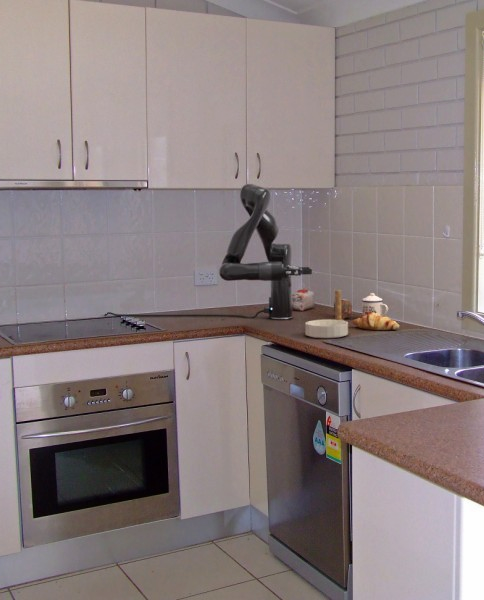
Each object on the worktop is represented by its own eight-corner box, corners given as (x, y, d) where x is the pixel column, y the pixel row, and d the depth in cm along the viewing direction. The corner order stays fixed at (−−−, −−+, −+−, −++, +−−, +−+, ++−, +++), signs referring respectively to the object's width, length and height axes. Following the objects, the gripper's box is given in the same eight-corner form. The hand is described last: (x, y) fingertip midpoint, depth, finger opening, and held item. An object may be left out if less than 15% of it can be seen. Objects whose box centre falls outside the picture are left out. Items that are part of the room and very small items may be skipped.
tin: (333, 315, 381) (333, 297, 380) (339, 315, 382) (339, 296, 381) (346, 320, 367) (346, 301, 366) (353, 319, 369) (353, 300, 368)
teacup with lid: (358, 320, 366) (358, 293, 365) (367, 317, 374) (367, 291, 373) (383, 322, 361) (383, 295, 359) (392, 319, 369) (392, 293, 367)
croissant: (401, 337, 341) (405, 319, 344) (393, 329, 333) (397, 310, 335) (354, 333, 350) (359, 315, 353) (345, 325, 342) (349, 306, 344)
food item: (303, 311, 394) (303, 290, 392) (288, 310, 397) (288, 290, 395) (316, 308, 406) (316, 287, 405) (301, 307, 409) (301, 287, 408)
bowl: (297, 337, 323) (297, 324, 322) (317, 331, 338) (316, 318, 337) (337, 340, 316) (337, 327, 316) (354, 333, 332) (354, 321, 331)
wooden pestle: (331, 329, 341) (330, 290, 339) (335, 328, 345) (335, 289, 343) (340, 330, 339) (340, 291, 337) (345, 329, 343) (345, 290, 341)
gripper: (271, 263, 326) (312, 262, 329) (268, 260, 340) (308, 260, 343) (271, 282, 327) (312, 281, 330) (268, 279, 341) (308, 278, 344)
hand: (310, 270), depth 337 cm, fingers open, 8 cm apart
